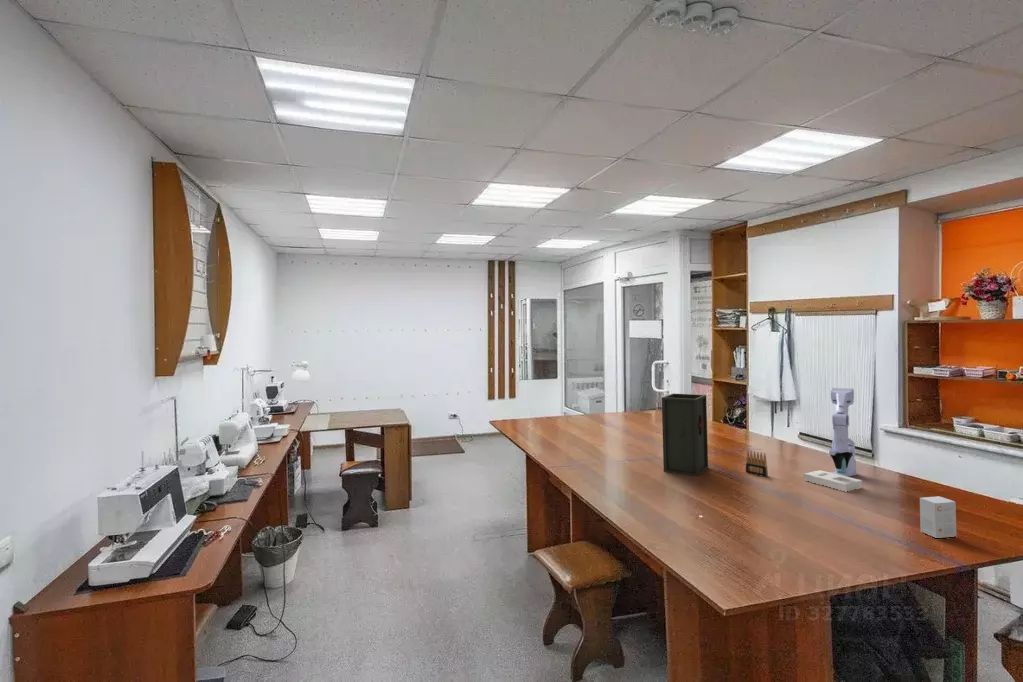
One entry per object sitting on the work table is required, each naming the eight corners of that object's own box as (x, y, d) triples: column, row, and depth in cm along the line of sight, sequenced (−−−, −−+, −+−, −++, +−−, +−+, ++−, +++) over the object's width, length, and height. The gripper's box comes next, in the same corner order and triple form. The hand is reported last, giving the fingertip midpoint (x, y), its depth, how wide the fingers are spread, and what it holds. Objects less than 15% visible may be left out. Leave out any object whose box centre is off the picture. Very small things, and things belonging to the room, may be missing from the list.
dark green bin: (674, 463, 284) (672, 393, 283) (708, 467, 273) (706, 395, 272) (663, 471, 269) (661, 397, 268) (698, 476, 258) (696, 399, 257)
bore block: (820, 477, 250) (819, 470, 250) (862, 487, 231) (861, 480, 231) (804, 480, 245) (804, 473, 245) (845, 492, 227) (845, 484, 226)
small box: (939, 531, 182) (939, 495, 182) (957, 538, 176) (956, 501, 176) (919, 532, 181) (919, 497, 181) (936, 539, 175) (935, 503, 175)
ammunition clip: (767, 476, 254) (767, 452, 254) (766, 476, 253) (765, 453, 253) (747, 471, 263) (746, 449, 262) (745, 472, 262) (745, 449, 261)
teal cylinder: (839, 470, 237) (838, 456, 237) (848, 472, 233) (847, 457, 233) (834, 472, 235) (833, 457, 235) (843, 473, 231) (842, 458, 231)
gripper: (839, 443, 227) (840, 472, 227) (859, 439, 233) (860, 467, 233) (824, 440, 233) (825, 468, 234) (844, 436, 239) (844, 464, 240)
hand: (841, 468), depth 234 cm, fingers closed on teal cylinder, 4 cm apart
